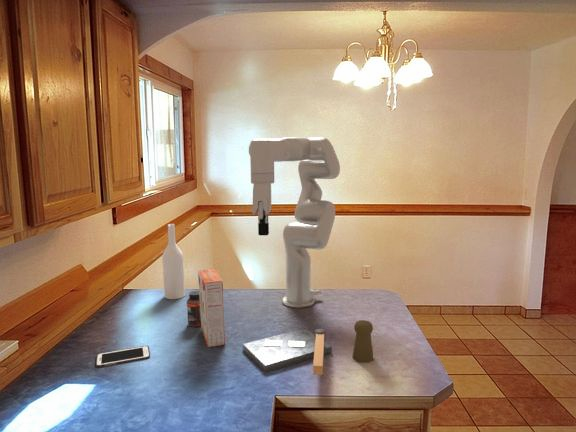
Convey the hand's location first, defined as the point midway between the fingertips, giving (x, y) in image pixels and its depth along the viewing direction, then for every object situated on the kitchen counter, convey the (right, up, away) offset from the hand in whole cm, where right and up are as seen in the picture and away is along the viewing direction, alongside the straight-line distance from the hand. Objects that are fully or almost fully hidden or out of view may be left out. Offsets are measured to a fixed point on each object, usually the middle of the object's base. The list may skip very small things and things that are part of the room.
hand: (263, 234), depth 141 cm
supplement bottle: (-24, -32, +9) cm, 40 cm away
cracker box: (-16, -33, -2) cm, 37 cm away
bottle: (-39, -27, +37) cm, 60 cm away
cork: (+30, -35, -16) cm, 49 cm away
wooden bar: (+16, -32, -22) cm, 42 cm away
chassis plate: (+8, -34, -12) cm, 37 cm away
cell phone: (-40, -36, -14) cm, 56 cm away
